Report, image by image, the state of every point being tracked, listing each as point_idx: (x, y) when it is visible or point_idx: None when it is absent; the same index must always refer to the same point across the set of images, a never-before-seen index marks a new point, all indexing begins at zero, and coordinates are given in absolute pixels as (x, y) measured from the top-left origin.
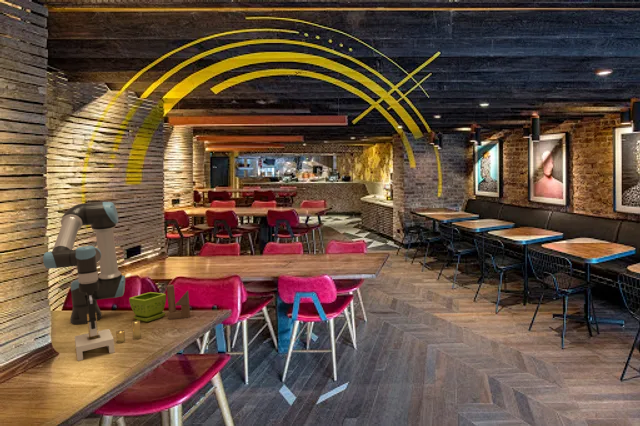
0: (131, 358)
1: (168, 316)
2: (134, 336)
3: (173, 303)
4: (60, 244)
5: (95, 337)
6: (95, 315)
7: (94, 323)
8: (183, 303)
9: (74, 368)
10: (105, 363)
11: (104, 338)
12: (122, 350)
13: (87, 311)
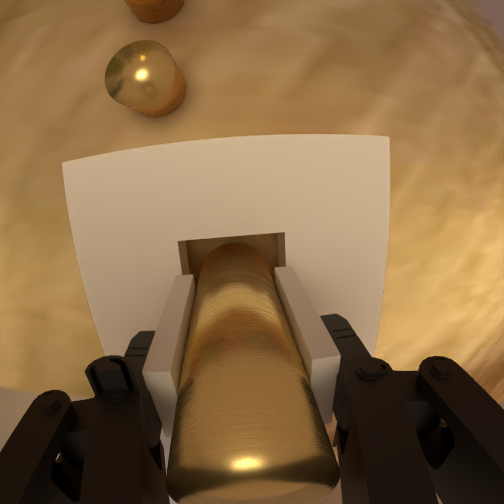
0: (467, 93)
1: None
2: (172, 5)
3: None
4: None
5: (270, 274)
6: (497, 405)
7: (367, 353)
8: None
9: (416, 325)
10: (457, 203)
11: (331, 202)
12: (341, 95)
13: (68, 496)
